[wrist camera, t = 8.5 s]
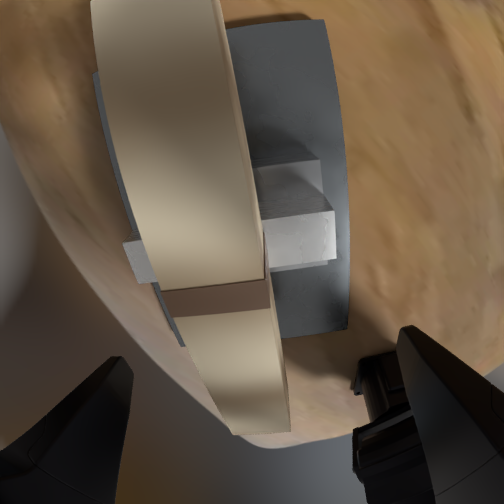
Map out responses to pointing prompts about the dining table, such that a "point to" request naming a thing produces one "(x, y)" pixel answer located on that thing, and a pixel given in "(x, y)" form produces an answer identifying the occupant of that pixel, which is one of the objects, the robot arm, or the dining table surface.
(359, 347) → the dining table surface
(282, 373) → the beige long bar
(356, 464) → the robot arm
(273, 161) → the fulcrum
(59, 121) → the dining table surface
